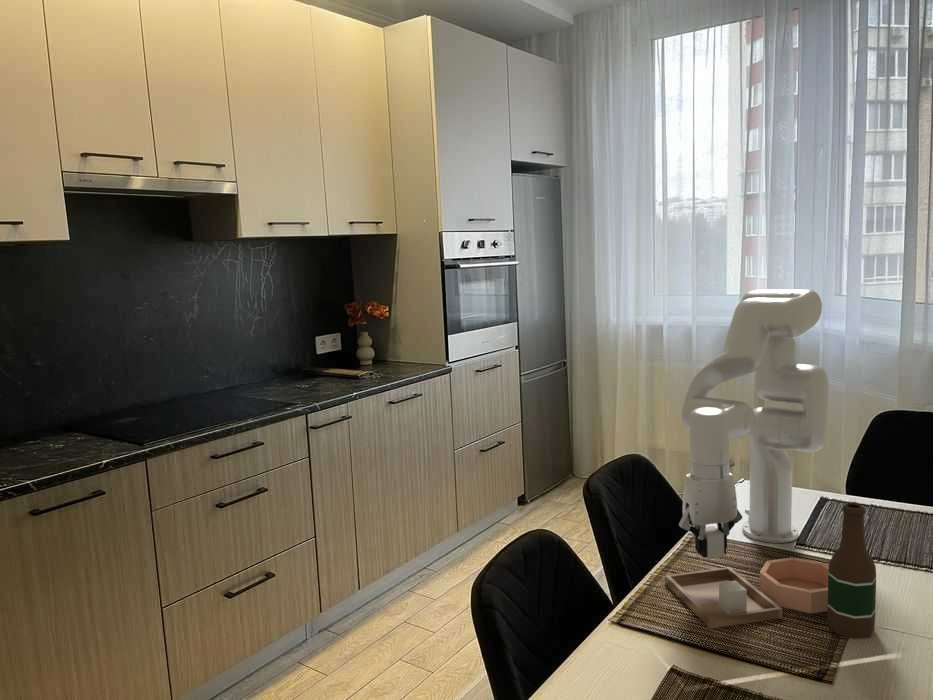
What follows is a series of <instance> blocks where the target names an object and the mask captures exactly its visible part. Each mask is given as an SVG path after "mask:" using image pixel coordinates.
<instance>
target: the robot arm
mask: <svg viewBox="0 0 933 700" xmlns="http://www.w3.org/2000/svg"><path fill="white" fill-rule="evenodd" d="M822 311H823V303H822V299H821V297H820V295H819V294H818V293H817V292H816V291H814V290H812V289H781V288H780V289H777V288H776V289H775V288H773V289H771V288H768V289H765V288H764V289H755V290H750V291H748V292H746V293H744V294H743V296H742V298H741V301H740V302H739V303H738V304H737V305H736V307H735V310H734V312H733V316H732V318H731V320H730V324H729V329H728V330H727V331H728V332H727V333H726V337H725V341H724V344H723V348H722V350H721V352H720V354H719V355H717V356H716V357H715V358H713V359H712V360H710V361H709V362H708V363H706V364H705V365H704V366H703V367H702V368H701V369H700V370H698V371H697V373H696V374H695V375H694V376H693V377H692V379H691V380H690V383H689V385H688V388H687V390H686V395H685V397H684V399H683V405H682V409H681V421H682V423H683V426H684V427H685V428H686V429H687V430H689V465H690V466H689V468H690V471H689V472H690V473H687V474H686V476H685V481H684V485H683V492H682V493H683V494H682V495H683V497H682V517H681V519H680V521H679V523H678V526H679V527H680V528H681V529H683V530H685V531H688V532H690V533H691V534H693V535H694V537H695V539H694V540H695V541H694V542H695V543H694V544H695V545H694V547H695V551H696V552H697V553H698V554H699V556H701V557H702V558H704V559H705V558H706V557H707V540H706V539H705V538H704V536H705V528H706V527H707V526H709V525H716V528H717V529H718V530H720V531H721V532H722V533H724V555H726V554H727V548H728V536H729V535H730V532H731V530H732V529H733V528H734V526H735V524H737V523H739V522H740V521H741V520H742V519H743V515H742V514H741V511H739V509H738V499H737V490H736V484H735V480H734V475H733V474H732V473H731V468H732V467H735V465H736V462H735V460H734V459H730V440H734V439H738V438H742V437H744V436H747V443H748V449H749V451H748V452H749V508H745V510H744V513H745V514H746V515H747V516H748V520H747V521H746V522H745V523H743V524H742V532H743V534H745V536H747V537H749V538H750V539H752V540H756V541H759V542H764V543H772V544H773V543H774V544H783V543H789V542H793V541H795V540H797V539H798V538H799V530H798V529H797V528H796V527H795V526H794V525H792V508H793V507H792V506H793V505H792V504H793V501H792V500H793V498H792V497H793V464H792V461H791V459H790V457H789V455H788V454H787V452H786V450H791V451H798V452H807V453H815V452H818V451H820V450H821V449H822V448H823V447H824V445H825V441H826V436H827V424H828V423H827V421H828V420H827V419H828V404H829V377H828V375H827V372H826V371H825V370H824V368H822V367H821V366H819V365H816V364H809V363H796V348H797V347H796V345H797V344H796V340H795V338H794V337H800V336H801V335H803V334H805V333H806V332H807V331H809V330H810V329H812V328H813V327H814V326H816V324H817V323H818V322H819V320H820V318H821V316H822ZM754 372H755V379H754V381H755V383H754V386H755V393H756V395H757V397H758V398H759V399H761V400H763V401H768V402H769V401H770V402H776V403H784V404H794V405H801V406H802V408H803V410H801V409H793V408H785V407H784V408H783V407H776V406H775V407H774V406H758V407H755V408H752V406H751V405H749V404H748V403H747V402H745V401H742V400H741V401H740V400H732V399H724V398H717V397H707V396H708V395H709V393H710V392H712V390H713V389H714V388H716V387H718V386H719V385H721V384H723V383H726V382H728V381H731V380H734V379H738V378H741V377H743V376H746V375H750V374H752V373H754ZM690 522H691V524H690Z"/></svg>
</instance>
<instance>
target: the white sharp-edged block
mask: <svg viewBox="0 0 933 700" xmlns="http://www.w3.org/2000/svg"><path fill="white" fill-rule="evenodd" d="M719 607H720V608H721V609H722V610H723V611H724V612H725V613H726V614H734V613H741V612H747V590H746V589H745V588H744V587H743V586H742V585H740V584H739V583H738V582H737V581H729V582H721V583H719Z"/></svg>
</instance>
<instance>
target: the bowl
mask: <svg viewBox="0 0 933 700" xmlns="http://www.w3.org/2000/svg"><path fill="white" fill-rule="evenodd" d="M828 570H829V565H828V564H826V563H823V562H819V561H814V560H808V559H802V558H797V557H787V558H779V559H778V558H777V559H772V560H766V561H765V563H764V564H763V566H762V568H761V569H760V571H759V591H761V592H762V593H763V594H764V595H766V596H767V597H768V598H769V599H771V600H772V601H773V602H774V603H776V604H777V605H778V606H780V607H781V608H785V609H790V610H794V611H797V612H798V611H799V612H804V613H807V614H816V613H817V614H818V613H824V612H827V609H828Z"/></svg>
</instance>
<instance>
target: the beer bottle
mask: <svg viewBox="0 0 933 700" xmlns="http://www.w3.org/2000/svg"><path fill="white" fill-rule="evenodd" d="M841 511H842V512H843V519H842V525H841V526H842V529H841V536H840V537H841V539H840V543H839V547H838V548H837V549H836V551H835V552H834V553H833V554H832V556H831V558H830V561H829V564H828V566H829V570H828V609H827V611H826V612H827V613H826V615H827V617H826V618H827V626H828V628H830V629H831V630H832V631H833V632H834V633H835V634H837V635H840V636H843V637H847V638H850V639H853V640H856V639H857V640H859V639H868V638H871V637H872V636H873V633H874V632H875V625H876V603H877V602H876V599H877V567H876V564H875V561H874V559H873V557H872V556H871V554H870V552H868V549H867V546H866V540H865V539H866V536H865V516H864V515H865V514H866V508H865V506H863V505H862V504H859V503H845V504H844V505H843V506H842V509H841Z"/></svg>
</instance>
